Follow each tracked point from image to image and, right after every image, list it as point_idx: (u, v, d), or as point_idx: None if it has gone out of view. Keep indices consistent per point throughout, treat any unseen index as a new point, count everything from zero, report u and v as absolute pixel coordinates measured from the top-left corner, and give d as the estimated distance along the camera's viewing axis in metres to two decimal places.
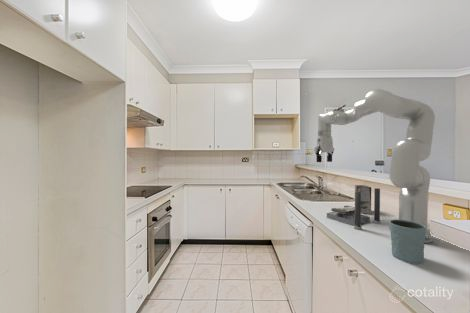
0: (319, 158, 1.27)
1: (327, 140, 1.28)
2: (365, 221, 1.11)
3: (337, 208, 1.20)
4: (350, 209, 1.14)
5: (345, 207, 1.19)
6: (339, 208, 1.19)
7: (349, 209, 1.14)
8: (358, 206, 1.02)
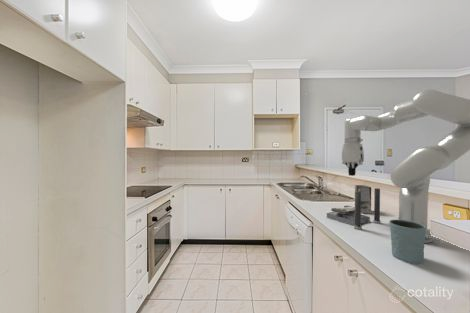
0: None
1: None
2: (365, 221, 1.11)
3: (337, 208, 1.20)
4: (350, 209, 1.14)
5: (345, 207, 1.19)
6: (339, 208, 1.19)
7: (349, 209, 1.14)
8: (358, 206, 1.02)
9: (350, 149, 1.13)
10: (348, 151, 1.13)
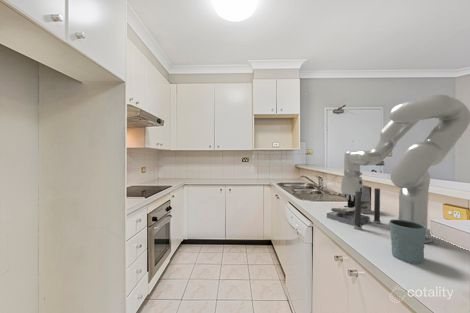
0: None
1: None
2: (365, 221, 1.11)
3: (337, 208, 1.20)
4: (350, 209, 1.14)
5: (345, 207, 1.19)
6: (339, 208, 1.19)
7: (349, 209, 1.14)
8: (358, 206, 1.02)
9: (349, 182, 1.13)
10: (348, 184, 1.14)
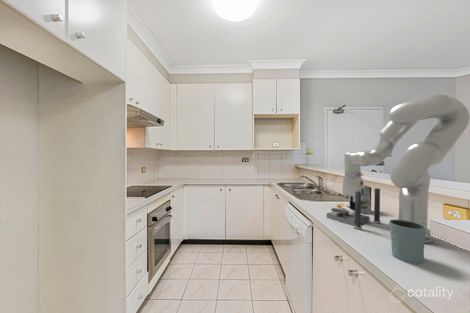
0: None
1: None
2: (365, 221, 1.11)
3: (338, 204, 1.20)
4: (350, 213, 1.14)
5: (346, 206, 1.19)
6: (340, 206, 1.19)
7: (349, 213, 1.14)
8: (358, 206, 1.02)
9: (351, 183, 1.12)
10: (349, 185, 1.13)
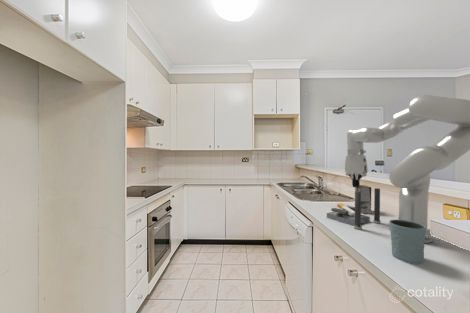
0: None
1: None
2: (365, 221, 1.11)
3: (338, 204, 1.20)
4: (350, 213, 1.14)
5: (346, 206, 1.19)
6: (340, 205, 1.19)
7: (349, 213, 1.14)
8: (358, 206, 1.02)
9: (353, 161, 1.12)
10: (352, 163, 1.13)
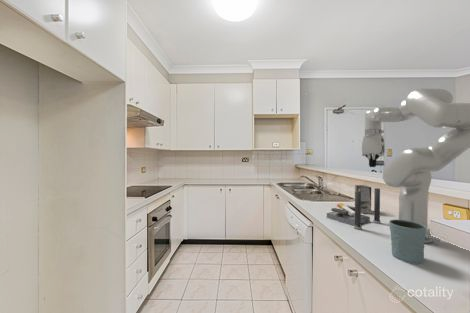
0: None
1: None
2: (365, 221, 1.11)
3: (338, 204, 1.20)
4: (350, 214, 1.14)
5: (346, 206, 1.19)
6: (340, 205, 1.19)
7: (349, 213, 1.14)
8: (358, 206, 1.02)
9: (371, 141, 1.14)
10: (369, 143, 1.15)
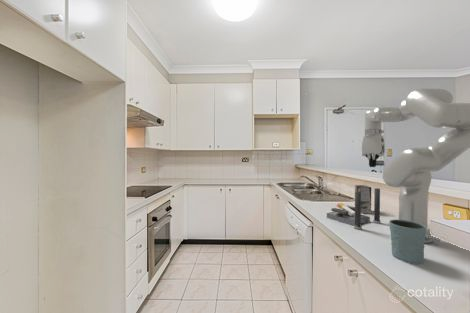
0: None
1: None
2: (365, 221, 1.11)
3: (338, 204, 1.20)
4: (350, 214, 1.14)
5: (346, 206, 1.19)
6: (340, 205, 1.19)
7: (349, 213, 1.14)
8: (358, 206, 1.02)
9: (371, 141, 1.14)
10: (369, 143, 1.15)
